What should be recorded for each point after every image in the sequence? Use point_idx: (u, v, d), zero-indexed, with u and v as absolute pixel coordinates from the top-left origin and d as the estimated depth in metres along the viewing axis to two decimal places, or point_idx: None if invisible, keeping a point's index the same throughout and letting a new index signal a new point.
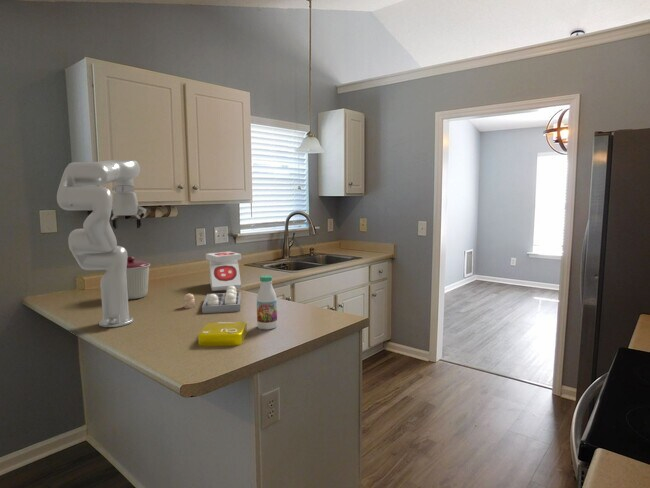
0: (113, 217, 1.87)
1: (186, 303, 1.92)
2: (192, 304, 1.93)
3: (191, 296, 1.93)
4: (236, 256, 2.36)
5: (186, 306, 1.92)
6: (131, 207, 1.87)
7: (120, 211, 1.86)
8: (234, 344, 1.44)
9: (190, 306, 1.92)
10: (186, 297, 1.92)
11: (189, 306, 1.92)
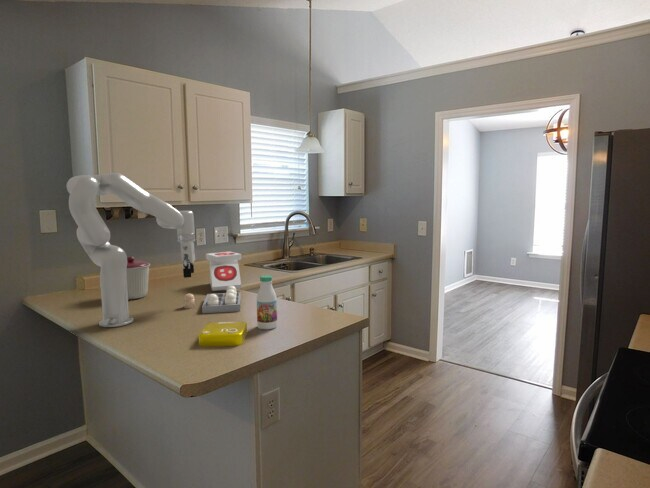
0: (189, 266, 1.87)
1: (186, 303, 1.92)
2: (192, 304, 1.93)
3: (191, 296, 1.93)
4: (236, 256, 2.36)
5: (186, 306, 1.92)
6: (194, 253, 1.95)
7: (193, 258, 1.91)
8: (234, 344, 1.44)
9: (190, 306, 1.92)
10: (186, 297, 1.92)
11: (189, 306, 1.92)
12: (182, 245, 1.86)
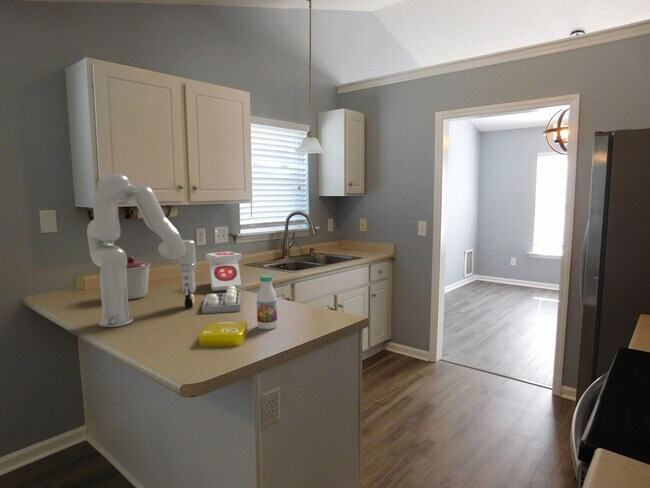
0: None
1: None
2: (192, 304, 1.93)
3: (191, 296, 1.93)
4: (236, 256, 2.36)
5: None
6: (195, 282, 1.96)
7: (194, 287, 1.92)
8: (235, 344, 1.44)
9: None
10: None
11: None
12: (183, 275, 1.88)
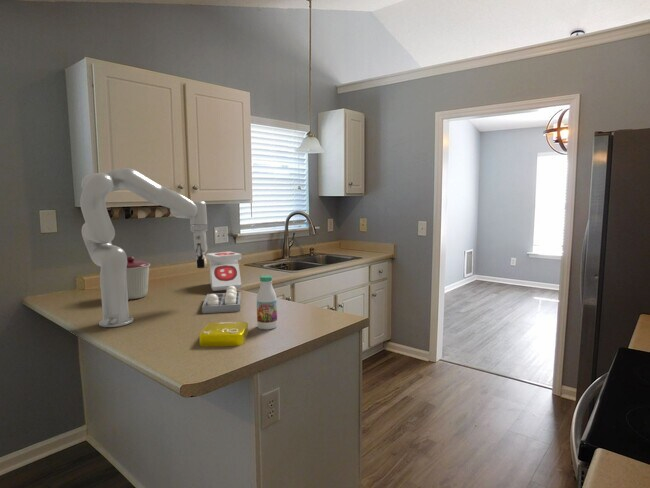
0: None
1: None
2: (204, 265, 1.96)
3: (203, 256, 1.95)
4: (236, 256, 2.36)
5: None
6: None
7: (206, 248, 1.95)
8: (235, 344, 1.44)
9: None
10: None
11: None
12: (195, 234, 1.90)
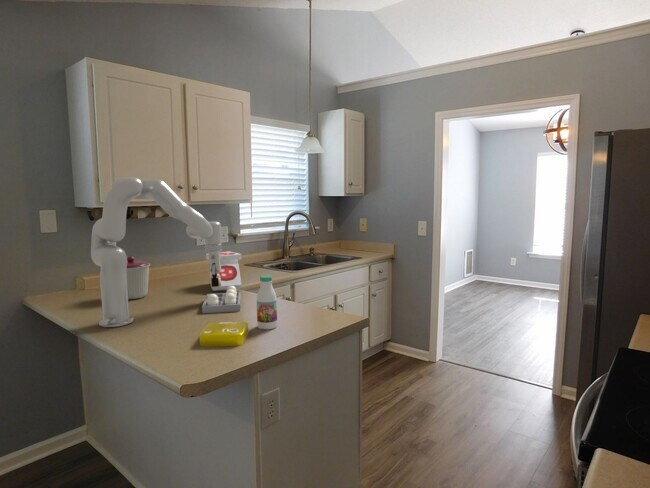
0: None
1: None
2: (219, 283, 2.02)
3: None
4: (236, 256, 2.36)
5: None
6: None
7: (220, 267, 2.01)
8: (235, 344, 1.44)
9: None
10: None
11: None
12: (210, 254, 1.96)
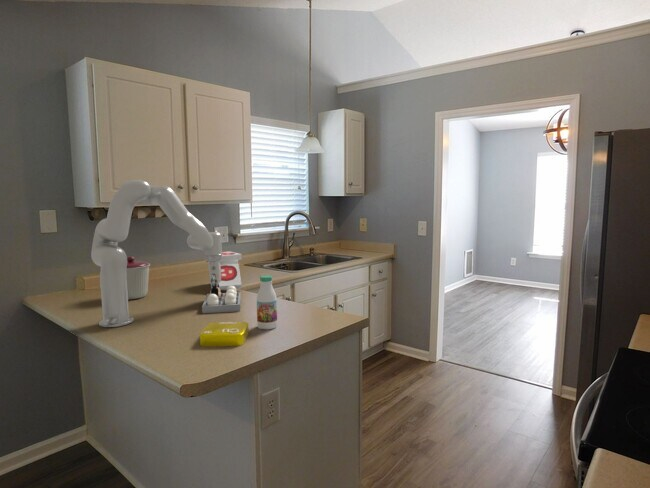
0: (217, 286, 1.99)
1: None
2: None
3: None
4: (236, 256, 2.36)
5: None
6: None
7: (220, 278, 2.01)
8: (236, 344, 1.44)
9: None
10: None
11: None
12: (210, 265, 1.97)
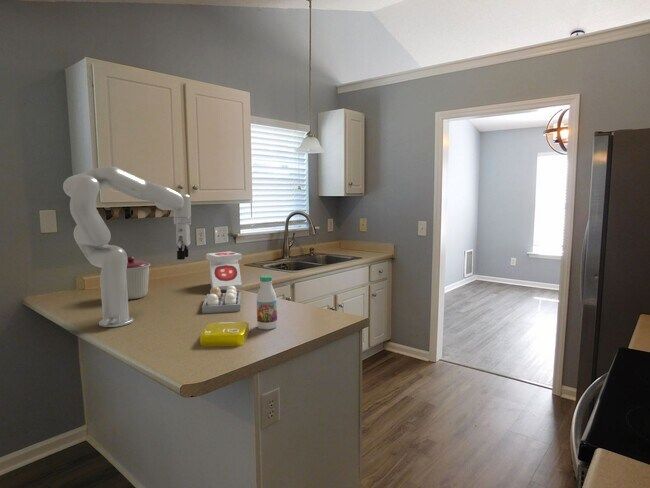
0: (183, 248, 1.90)
1: None
2: None
3: (217, 289, 2.02)
4: (236, 256, 2.36)
5: None
6: (189, 237, 1.98)
7: (188, 241, 1.93)
8: (236, 344, 1.44)
9: None
10: (213, 290, 2.01)
11: None
12: (177, 227, 1.89)
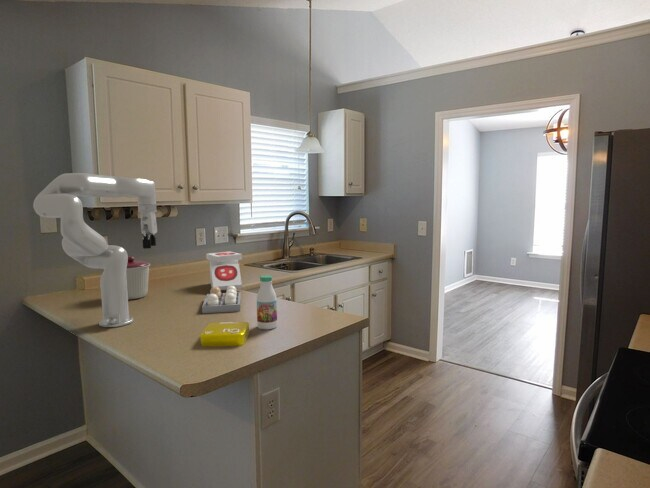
0: (149, 236, 1.84)
1: None
2: None
3: (217, 289, 2.02)
4: (236, 256, 2.36)
5: None
6: (156, 225, 1.91)
7: (154, 230, 1.87)
8: (236, 344, 1.44)
9: None
10: (213, 290, 2.01)
11: None
12: (142, 215, 1.83)
